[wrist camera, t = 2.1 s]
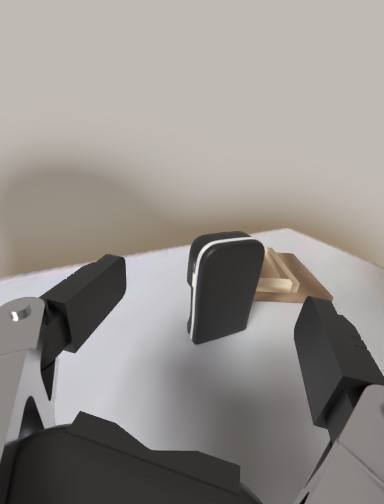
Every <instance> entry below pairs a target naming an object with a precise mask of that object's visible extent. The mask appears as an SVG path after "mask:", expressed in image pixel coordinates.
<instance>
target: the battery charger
mask: <svg viewBox="0 0 384 504" xmlns="http://www.w3.org/2000/svg"><path fill="white" fill-rule="evenodd" d="M264 257H265V248H264V246H263V244H262V243H261V242H260V241H259V240H258V239H256V238H254V237H251V236H250V235H248V234H246V233H244V232H240V231H234V232H221V233H214V234H207V235H202V236H199V237H198V238H196V239H195V240H194V241H193V243H192V245H191V249H190V254H189V262H188V272H187V282H188V284H189V285H190V287H191V311H190V318H189V321H188V323H187V329H188V333H189V335H190V339H191V340H192V341H193V342H194V343H195V344H199V343H203V342H206V341H210V340H213V339H217V338H220V337H223V336H226V335H229V334H233V333H236V332H239V331H242V330H244V329H245V328H246V325H247V321H248V317H249V313H250V309H251V305H252V302H253V299H254V296H255V292H256V289H257V286H258V282H259V278H260V274H261V270H262V266H263V262H264Z"/></svg>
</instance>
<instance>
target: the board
mask: <svg viewBox="0 0 384 504" xmlns="http://www.w3.org/2000/svg"><path fill="white" fill-rule="evenodd" d="M307 296H314V297H318V298H323V299H328V300H330V301H331V302H332V299H333V296H332V295H331V294H330V293H329V292H328V291H327V290H326V289H325V288H324V287H323V286H322V285H321V283H320V282H319V281H318V280H317V279H316V278H315V277H314V276H313V275H312V274H311V273H310V272H309V270H308V269H307V268H306V267H305V266H304V265H303V264H302V263H301V262H300V261H299V260H298V259H297V258H296V256H295V255H294V254H290V253H275V251H274V250H273V249H272V248H265V257H264V262H263V266H262V270H261V274H260V278H259V282H258V286H257V289H256V292H255V296H254V299H253V301H271V302H293V303H304V301H305V299H306V298H307Z"/></svg>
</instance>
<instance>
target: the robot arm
mask: <svg viewBox="0 0 384 504" xmlns="http://www.w3.org/2000/svg"><path fill="white" fill-rule="evenodd" d="M125 291H126V264H125V259H124V258H123V257H120V256H115V255H110V254H106V255H105V256H103V257H102V258H101V259H99V260H98V261H96V262H93V263H91V264H88V265H85V266H83V267H81V268H80V269H79V270H77V271H76V272H74V274H71V275H70V276H69V277H67V279H64V280H63V281H62V282H60V283H59V284H57V285H56V286H54V287H53V288H52V289H50V290H49V291H47V292H46V293H45V294H43V295H42V296H40V297H39V298H37V297H24V298H19V299H15V300H12V301H10V302H8V303H6V304H4V305H2V306H1V307H0V504H263V503H262V502H261V501H260V500H259V498H258V497H257V496H256V495H255V494H253V493H252V492H251V491H250V490H249V489H248V488H247V487H246V486H244V485H243V484H242V483H240V466H239V465H236V464H233V463H230V462H228V461H225V460H222V459H219V458H216V457H213V456H210V455H207V454H204V453H201V452H198V451H157V450H151V449H148V448H147V447H145V446H144V445H143V444H142V443H140V442H139V441H138V440H137V439H135V438H134V437H133V436H131V435H130V434H129V433H128V432H126V431H125V430H124V429H122V428H121V427H120V426H119V425H117V424H116V423H114V422H111V421H108V420H105V419H102V418H99V417H96V416H93V415H90V414H87V413H85V412H82V411H80V412H79V413H78V415H77V416H76V418H75V420H74V421H73V423H72V424H64V425H58V426H56V424H55V413H54V409H55V396H56V386H57V375H58V364H59V359H58V355H59V354H60V353H61V352H62V351H63V350H65V351H68V352H72V353H76V352H77V351H78V349H79V348H80V347H81V346H82V345H83V344H84V342H85V341H86V340H87V339H88V338H89V336H90V335H91V334H92V333H93V332H94V331H95V329H96V328H97V327H98V326H99V325H100V324H101V322H102V321H103V320H104V319H105V318H106V317H107V315H108V314H109V313H110V312H111V311H112V310H113V308H114V307H115V306H116V305H117V304H118V303H119V301H120V300H121V299H122V298H123V296H124V294H125ZM294 341H295V345H296V350H297V354H298V359H299V363H300V367H301V372H302V376H303V381H304V385H305V389H306V394H307V398H308V403H309V407H310V412H311V416H312V420H313V425H315V426H318V427H322V428H325V429H328V431H329V435H330V440H329V442H328V443H327V445H326V447H325V448H324V450H323V452H322V454H321V456H320V457H319V459H318V461H317V463H316V465H315V466H314V468H313V470H312V472H311V473H310V475H309V477H308V479H307V481H306V482H305V484H304V486H303V488H302V490H301V491H300V493H299V495H298V496H297V498H296V500H295V501H294V503H293V504H384V376H383V375H382V373H381V371H380V369H379V368H378V366H377V364H376V363H375V361H374V359H373V357H372V356H371V354H370V352H369V351H368V350H367V347H366V345H365V344H364V342H363V340H361V337H360V335H359V333H358V332H357V330H356V328H355V326H354V325H352V324H351V323H350V322H349V321H348V320H347V319H346V318H345V317H344V316H343V315H338V314H337V312H336V310H335V308H334V306H333V304H332V302H331V301H330V300H328V299H323V298H318V297H314V296H307V298H306V299H305V301H304V304H303V307H302V309H301V312H300V314H299V317H298V319H297V322H296V324H295V329H294Z"/></svg>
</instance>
